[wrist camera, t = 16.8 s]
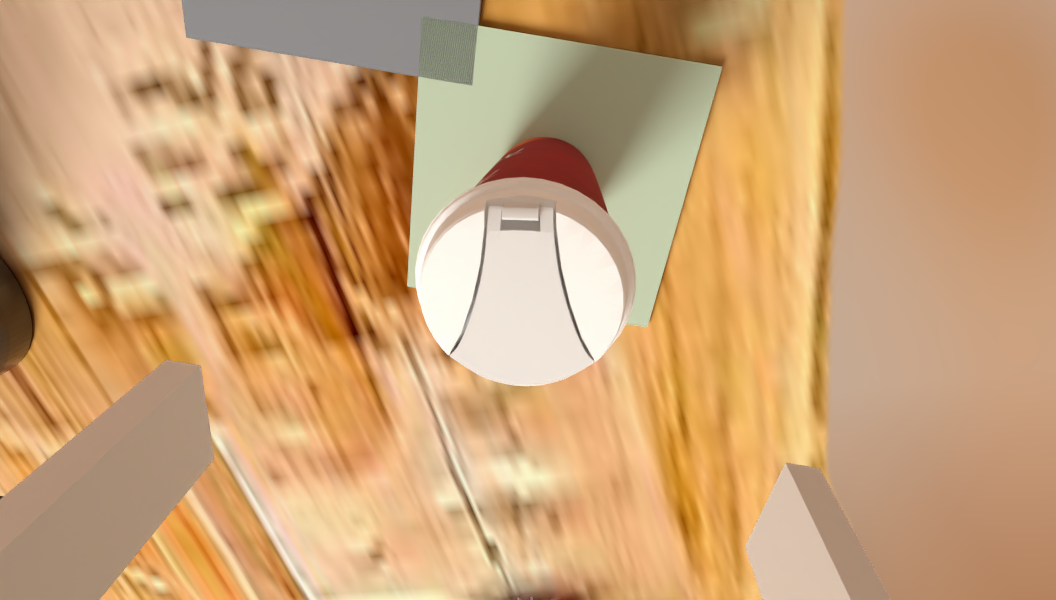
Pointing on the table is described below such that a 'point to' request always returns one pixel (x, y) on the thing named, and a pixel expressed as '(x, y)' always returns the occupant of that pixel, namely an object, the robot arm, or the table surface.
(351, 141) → the table surface
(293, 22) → the pad grey
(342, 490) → the table surface
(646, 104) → the pad green
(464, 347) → the coffee cup
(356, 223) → the table surface
